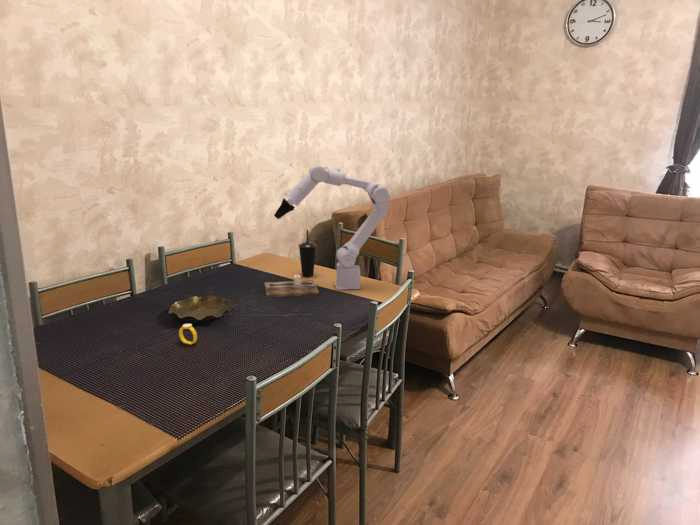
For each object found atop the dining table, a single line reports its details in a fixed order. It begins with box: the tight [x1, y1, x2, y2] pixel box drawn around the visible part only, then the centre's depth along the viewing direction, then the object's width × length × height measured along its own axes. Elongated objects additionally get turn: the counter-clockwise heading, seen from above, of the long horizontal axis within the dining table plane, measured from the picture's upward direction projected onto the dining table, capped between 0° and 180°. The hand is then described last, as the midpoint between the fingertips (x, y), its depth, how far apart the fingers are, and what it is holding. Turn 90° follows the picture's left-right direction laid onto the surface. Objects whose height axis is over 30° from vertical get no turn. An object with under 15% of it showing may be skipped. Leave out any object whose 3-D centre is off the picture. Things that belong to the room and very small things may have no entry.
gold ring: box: [178, 323, 198, 345], centre depth 166 cm, size 6×3×6 cm, turn 64°
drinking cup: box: [298, 229, 317, 278], centre depth 235 cm, size 8×8×20 cm
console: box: [264, 279, 320, 298], centre depth 218 cm, size 20×16×2 cm
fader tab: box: [293, 273, 302, 285], centre depth 218 cm, size 3×4×4 cm
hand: (276, 216), depth 210 cm, fingers open, 7 cm apart
